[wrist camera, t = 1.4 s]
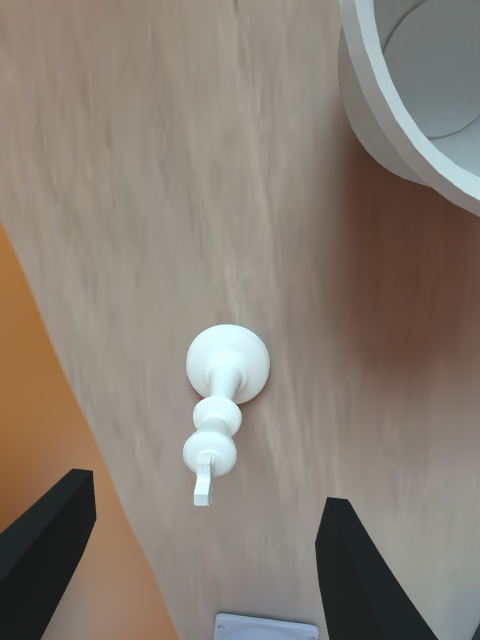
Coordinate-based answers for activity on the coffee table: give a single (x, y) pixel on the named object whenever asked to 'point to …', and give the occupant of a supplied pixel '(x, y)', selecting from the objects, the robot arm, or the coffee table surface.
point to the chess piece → (221, 399)
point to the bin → (477, 634)
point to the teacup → (416, 89)
